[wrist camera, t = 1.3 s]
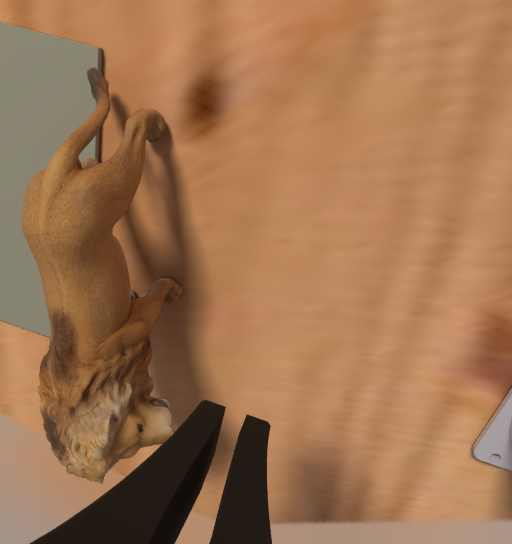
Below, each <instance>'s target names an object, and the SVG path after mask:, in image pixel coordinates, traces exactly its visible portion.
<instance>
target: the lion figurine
mask: <svg viewBox="0 0 512 544" xmlns="http://www.w3.org/2000/svg"><path fill="white" fill-rule="evenodd" d="M87 76H88V80H89V82H90V85H91V92H92V95H93V97H94V99H95V100H96V103H97V106H96V109H95V110H94V112H93V113H92V114H91V115H90V116H89V117H88V118H87V119H86V120H85V121H84V122H83V123H82V124H81V125H80V126H79V127H78V128H77V129H76V130H75V131H74V132H73V133H72V134H71V135H70V136H69V137H68V138H67V139H66V140H65V141H64V143H63V144H62V145H61V147H60V148H59V150H58V151H57V152H56V153H55V154H54V156H53V157H52V159H51V161H50V162H49V164H48V166H47V168H45V169H43V170H41V171H40V172H39V173H37V174H36V175H35V176H34V177H33V178H32V179H31V181H30V183H29V184H28V186H27V189H26V193H25V197H24V202H23V213H22V231H23V234H24V236H25V239H26V241H27V243H28V245H29V248H30V250H31V252H32V254H33V256H34V258H35V261H36V263H37V266H38V269H39V272H40V276H41V280H42V285H43V290H44V296H45V302H46V306H47V310H48V315H49V321H50V327H51V340H50V345H49V351H48V353H47V354H46V355H45V356H44V357H43V360H42V362H41V366H40V373H39V378H40V386H39V387H38V393H39V395H40V398H41V402H42V404H41V406H40V412H41V414H42V417H43V420H44V429H45V431H46V437H47V439H48V441H49V442H50V443H51V449H52V451H53V453H54V454H55V456H56V457H57V458H58V459H59V462H60V463H61V464H62V465H64V466H66V467H67V473H69V474H74V475H76V476H77V477H82V478H87V479H88V480H90V481H95V482H99V483H100V484H103V479H104V476H105V474H106V473H107V472H108V471H109V470H110V469H111V468H112V467H113V466H114V465H115V464H116V463H117V462H118V461H119V459H125V458H130V457H132V456H134V455H135V454H136V453H137V451H138V450H139V449H140V448H142V447H146V446H151V445H156V444H163V443H164V442H165V441H166V440H167V439H168V438H169V437H171V436H172V435H173V434H174V430H173V428H172V421H173V420H172V414H171V412H170V403H169V402H168V400H166V399H162V398H154V397H151V396H150V394H151V391H152V389H153V380H152V378H151V377H150V376H149V374H148V365H149V363H150V361H151V356H152V350H151V344H150V339H149V333H150V332H151V330H152V329H153V327H154V325H155V323H156V322H157V320H158V318H159V315H160V313H161V309H162V304H163V301H167V302H168V303H173V302H174V301H176V300H178V299H179V298H180V295H181V294H182V292H183V290H182V288H181V287H180V285H179V284H178V283H176V282H175V281H173V280H172V279H169V278H159V279H157V280H156V281H155V282H154V283H153V284H152V286H151V287H150V289H149V291H148V294H147V295H146V296H145V297H140V298H137V299H135V294H134V292H133V291H132V289H130V278H129V272H128V267H127V263H126V259H125V256H124V252H123V250H122V247H121V245H120V243H119V241H118V240H117V239H116V238H115V237H114V235H113V234H112V229H113V226H114V224H115V223H116V222H117V221H118V220H119V219H120V218H121V217H122V216H123V215H124V213H125V212H126V211H127V209H128V208H129V206H130V204H131V202H132V199H133V197H134V195H135V193H136V190H137V188H138V185H139V183H140V180H141V176H142V170H143V161H144V153H145V144H146V140H148V141H149V142H151V143H153V142H155V141H156V140H158V139H160V138H161V137H162V136H163V134H164V132H165V131H166V124H165V121H164V118H163V116H162V115H161V114H160V113H159V112H157V111H155V110H152V109H139V110H137V111H136V112H135V113H133V114H132V116H131V117H130V118H128V120H127V121H126V124H125V134H124V138H123V140H122V142H121V144H120V146H119V148H118V149H117V151H116V153H115V154H114V155H113V156H112V157H111V158H110V159H109V160H107V161H105V162H101V163H98V161H97V160H96V159H94V158H88V159H87V160H86V161H85V162H84V163H83V164H81V162H80V160H79V154H80V153H81V152H82V151H83V149H84V148H85V147H86V146H87V145H88V144H89V143H90V142H91V141H92V139H93V138H94V137H95V135H96V134H97V132H98V131H99V129H100V128H101V126H102V125H103V123H104V121H105V119H106V118H107V115H108V113H109V110H110V101H109V92H108V81H107V80H106V79H105V78H104V76H103V74H102V73H101V71H100V70H99V69H97V68H95V67H93V68H89V69H88V70H87Z"/></svg>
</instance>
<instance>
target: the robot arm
mask: <svg viewBox="0 0 512 544" xmlns="http://www.w3.org/2000/svg"><path fill="white" fill-rule="evenodd" d="M225 408H226V407H224V406H221V405H218V404H216V403H213V402H210V401H207V400H204V401H201V402H200V404H199V405H198V406H197V408H196V409H195V410H194V411H193V413H192V414H191V415H190V416H189V417H188V418H187V420H186V421H185V422H184V423H183V424H182V425H181V426H180V427H179V428H178V429H177V430H176V431H175V432H174V434H173V435H172V436H171V437H169V438H168V439H167V440H166V441H165V442H164V443H163V444H162V445H161V446H160V447H159V448H158V449H157V450H156V451H155V452H154V453H153V454H152V455H151V456H150V457H149V458H147V459H146V460H145V461H144V462H143V463H142V464H141V465H139V466H138V467H137V468H136V469H135V470H134V471H132V472H131V473H130V474H129V475H128V476H127V477H125V478H124V479H123V480H122V481H121V482H120V483H118V484H117V485H116V486H114V487H113V488H112V489H110V490H109V491H108V492H106V493H105V494H104V495H102V496H101V497H100V498H98V499H97V500H96V501H94V502H93V503H92V504H90V505H89V506H88V507H86V508H85V509H83V510H82V511H80V512H79V513H77V514H76V515H74V516H73V517H72V518H70V519H69V520H67V521H66V522H64V523H63V524H61V525H60V526H58V527H57V528H55V529H53V530H52V531H50V532H49V533H47V534H46V535H43V536H42V537H40V538H38V539H37V540H35V541H34V542H32V543H30V544H175V542H176V540H177V538H178V536H179V534H180V531H181V529H182V527H183V526H184V523H185V521H186V519H187V517H188V515H189V513H190V511H191V509H192V507H193V505H194V503H195V501H196V499H197V497H198V495H199V493H200V491H201V488H202V486H203V483H204V481H205V478H206V475H207V473H208V470H209V467H210V465H211V462H212V459H213V457H214V454H215V449H216V445H217V441H218V437H219V433H220V429H221V425H222V421H223V416H224V412H225ZM270 427H271V426H270V424H269V423H268V422H267V421H264V420H261V419H258V418H256V417H253V416H250V415H247V416H246V418H245V421H244V423H243V426H242V428H241V431H240V433H239V436H238V440H237V443H236V447H235V451H234V454H233V458H232V462H231V465H230V469H229V472H228V476H227V480H226V483H225V487H224V491H223V494H222V498H221V502H220V506H219V510H218V514H217V518H216V522H215V526H214V530H213V534H212V538H211V540H210V543H209V544H272V539H271V530H270V520H269V509H268V492H267V447H268V438H269V431H270ZM472 449H473V453H474V456H475V457H476V458H477V459H479V460H481V461H484V462H487V463H490V464H493V465H496V466H499V467H501V468H504V469H507V470H510V471H512V388H511V390H510V391H509V393H508V394H507V396H506V397H505V399H504V400H503V402H502V403H501V404H500V406H499V407H498V409H497V410H496V412H495V413H494V415H493V416H492V418H491V419H490V421H489V422H488V424H487V425H486V427H485V428H484V430H483V431H482V433H481V434H480V436H479V437H478V439H477V440H476V442H475V443H474V445H473V447H472ZM492 454H497V455H492Z"/></svg>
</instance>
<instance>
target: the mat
mask: <svg viewBox="0 0 512 544" xmlns="http://www.w3.org/2000/svg"><path fill="white" fill-rule="evenodd" d="M93 67H95V68H97V69H99V70H100V71H101V68H102V48H100V47H96V46H92V45H88V44H84V43H80V42H76V41H72V40H68V39H64V38H61V37H57V36H53V35H49V34H45V33H41V32H37V31H33V30H29V29H25V28H22V27H18V26H14V25H10V24H6V23H2V22H0V320H1V321H4V322H7V323H10V324H13V325H15V326H18V327H21V328H24V329H27V330H30V331H33V332H36V333H38V334H41V335H44V336H47V337H50V338H51V327H50V321H49V315H48V310H47V306H46V302H45V296H44V290H43V285H42V280H41V276H40V272H39V269H38V266H37V263H36V261H35V258H34V256H33V254H32V252H31V250H30V248H29V245H28V243H27V241H26V239H25V236H24V234H23V231H22V213H23V202H24V197H25V193H26V189H27V186H28V184H29V183H30V181H31V179H32V178H33V177H34V176H35V175H36V174H37V173H39V172H40V171H41V170H43V169H45V168H47V166H48V164H49V162H50V161H51V159H52V157H53V156H54V154H55V153H56V152H57V151H58V150H59V148H60V147H61V145H62V144H63V143H64V141H65V140H66V139H67V138H68V137H69V136H70V135H71V134H72V133H73V132H74V131H75V130H76V129H77V128H78V127H79V126H80V125H81V124H82V123H83V122H84V121H85V120H86V119H87V118H88V117H89V116H90V115H91V114H92V113H93V112H94V110H95V109H96V106H97V103H96V100H95V99H94V97H93V95H92V92H91V85H90V82H89V80H88V76H87V70H88V69H89V68H93ZM99 131H100V129H99ZM99 131H98V132H97V134H96V135H95V137H94V138H93V139H92V141H91V142H90V143H89V144H88V145H87V146H86V147H85V148H84V149H83V151H82V152H81V153H80V154H79V160H80V162H81V164H83V163H84V162H85V161H86V160H87V159H88V158H94V159H96V160H97V161H98V163H99Z"/></svg>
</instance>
